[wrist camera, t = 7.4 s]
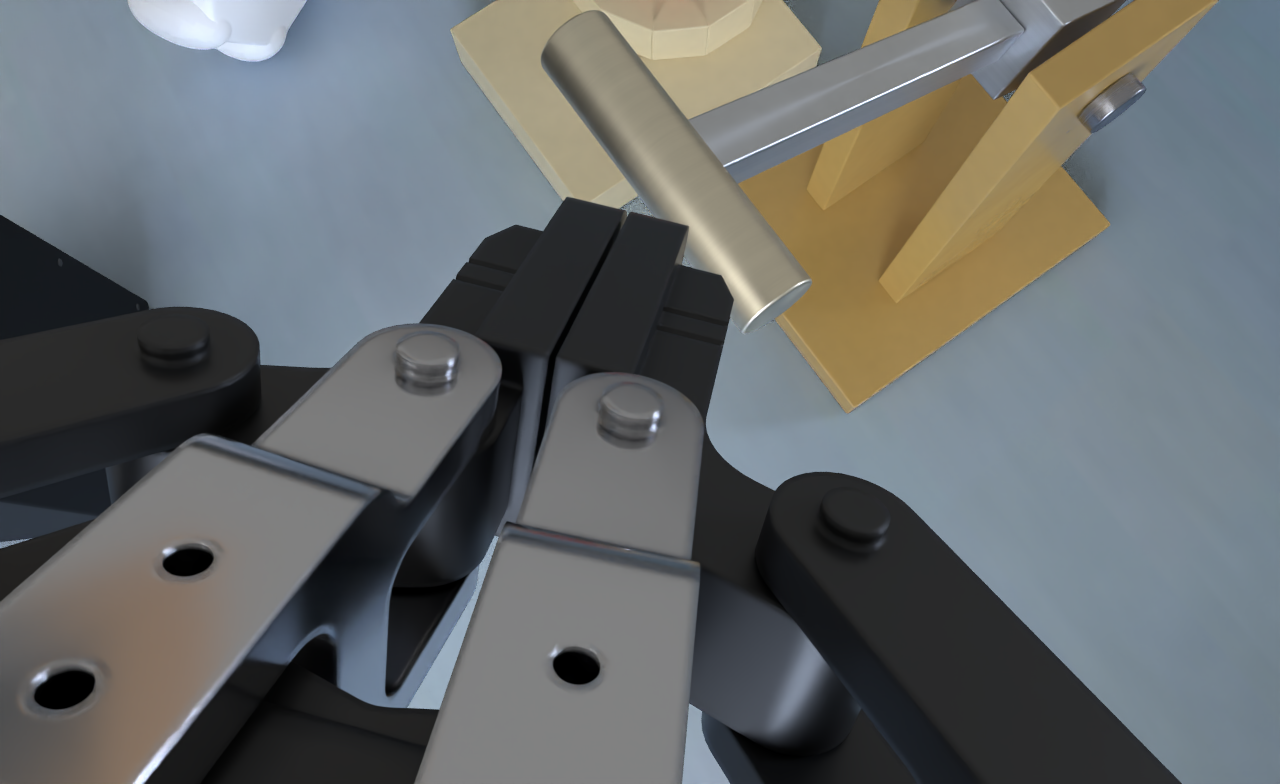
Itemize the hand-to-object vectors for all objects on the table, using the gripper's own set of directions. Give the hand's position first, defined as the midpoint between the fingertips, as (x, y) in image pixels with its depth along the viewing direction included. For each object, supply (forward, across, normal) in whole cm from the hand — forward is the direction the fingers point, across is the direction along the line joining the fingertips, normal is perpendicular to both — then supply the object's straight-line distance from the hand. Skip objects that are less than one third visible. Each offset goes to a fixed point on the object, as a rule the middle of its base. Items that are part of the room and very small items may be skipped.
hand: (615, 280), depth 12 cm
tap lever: (+11, -3, 0) cm, 11 cm away
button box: (+26, +4, +5) cm, 26 cm away
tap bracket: (+23, -6, +8) cm, 25 cm away
